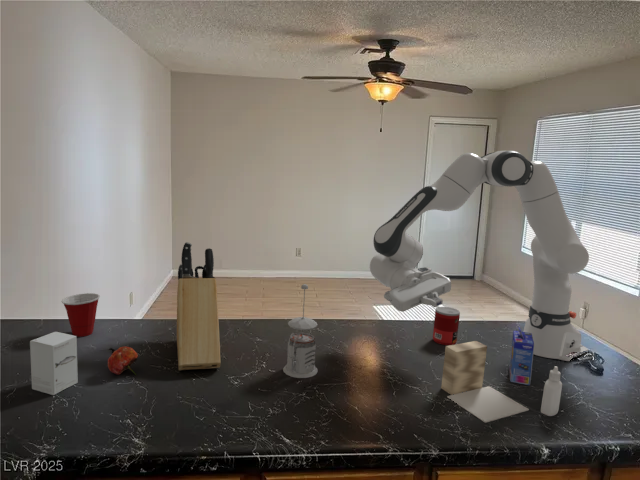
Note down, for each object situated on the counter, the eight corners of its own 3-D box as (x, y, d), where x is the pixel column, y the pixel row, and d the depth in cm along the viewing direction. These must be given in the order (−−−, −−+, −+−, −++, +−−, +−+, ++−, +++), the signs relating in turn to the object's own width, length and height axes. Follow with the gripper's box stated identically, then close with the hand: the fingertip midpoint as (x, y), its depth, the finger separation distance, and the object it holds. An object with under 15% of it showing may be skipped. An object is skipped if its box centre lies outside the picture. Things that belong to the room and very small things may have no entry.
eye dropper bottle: (533, 407, 122) (540, 363, 120) (553, 406, 123) (559, 362, 121) (545, 417, 118) (552, 371, 116) (565, 415, 119) (572, 370, 117)
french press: (323, 367, 138) (328, 283, 134) (305, 383, 128) (310, 293, 124) (293, 359, 142) (297, 277, 138) (273, 375, 132) (276, 286, 128)
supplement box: (53, 396, 115) (51, 346, 113) (31, 389, 117) (28, 340, 115) (79, 383, 122) (77, 335, 119) (56, 377, 124) (54, 330, 122)
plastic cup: (70, 327, 158) (69, 291, 156) (105, 327, 159) (104, 292, 157) (56, 339, 147) (55, 301, 145) (93, 340, 148) (92, 302, 146)
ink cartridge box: (507, 368, 145) (513, 322, 143) (527, 371, 143) (534, 325, 141) (509, 382, 136) (515, 333, 133) (530, 386, 134) (537, 336, 132)
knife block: (210, 327, 164) (212, 238, 159) (221, 373, 131) (223, 262, 126) (176, 329, 161) (176, 238, 156) (178, 376, 128) (178, 263, 123)
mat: (488, 387, 132) (489, 386, 132) (528, 410, 121) (528, 409, 121) (447, 397, 125) (447, 396, 125) (485, 422, 114) (485, 421, 114)
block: (471, 381, 135) (476, 340, 133) (482, 387, 132) (487, 346, 129) (441, 388, 130) (445, 346, 128) (451, 395, 126) (456, 352, 124)
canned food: (457, 347, 159) (460, 315, 157) (432, 343, 161) (435, 312, 159) (455, 338, 167) (459, 308, 165) (432, 335, 168) (435, 305, 166)
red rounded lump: (141, 375, 132) (118, 349, 134) (151, 360, 129) (128, 333, 130) (119, 389, 126) (96, 361, 128) (129, 374, 122) (105, 345, 124)
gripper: (380, 285, 144) (411, 306, 133) (432, 265, 153) (464, 283, 142) (380, 303, 147) (410, 325, 136) (431, 282, 156) (463, 301, 145)
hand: (439, 303), depth 139 cm, fingers closed
